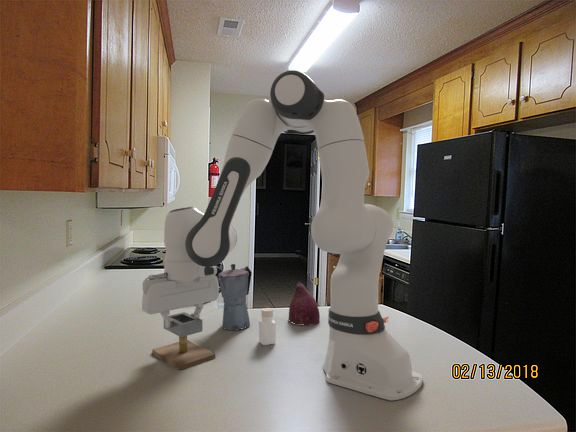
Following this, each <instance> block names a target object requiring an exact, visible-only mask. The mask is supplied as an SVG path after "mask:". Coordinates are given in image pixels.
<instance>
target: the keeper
mask: <svg viewBox="0 0 576 432" xmlns="http://www.w3.org/2000/svg"><path fill="white" fill-rule="evenodd" d="M178 337H179V336H178ZM151 352H152V355H154V356H155V357H158V358H159V359H160V360H163V361H164V362H166V363H168V365H171V366H172V367H174V368H176V369H177V370H179V371H182V370H185V369H187V368H190V367H192V366H196V365H198V364H201V363H203V362H206V361H207V362H208V361H209V360H213V359H216V353H215V352H212V351H211V350H209V349H207V348H204V347H202V346H201V345H198V344H196V343H194V342H193V341H190V340H188V336H184V337H179V338H178V341H177V342H174V343H170V344H166V345H164V346H160V347H156V348H153V349H152V351H151Z"/></svg>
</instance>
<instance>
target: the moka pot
mask: <svg viewBox="0 0 576 432" xmlns="http://www.w3.org/2000/svg"><path fill="white" fill-rule="evenodd" d="M230 268H231V269H228V270H223V271H221V272H219V273H218V276H217V278H218V283H219V289H220V294H221V297H222V298H223V299H222V300H223V314H222V328H223V329H224V328H225V330H226V329H228V330H227V331H237V330H236V329H241V328H245V327H247V326H248V327H250V325H251V322H250V317H249V311H248V306H247V295H249V294H250V287H251V280H252V271H251V269H250V268H249V266H247V265H246V266H245V267H242V268H239V269H237V268H236V264H234V263H231V264H230ZM248 327H247V328H248ZM245 329H246V328H245ZM241 330H242V329H241Z"/></svg>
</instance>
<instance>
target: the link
mask: <svg viewBox="0 0 576 432" xmlns="http://www.w3.org/2000/svg"><path fill="white" fill-rule="evenodd" d="M168 317H169V319H172V320H174V323H173V324H174V326H173V327H170V328H166V327H165V320H164V319H163V329H164V330H166V331H168V332H170V333H172V334H174V335H176V336H177V337H184V336H187V337H188V336H191V335H195V334H198V333H202V332H203V319H201V318H200V319H199V318H197V317H195V316H192V315H191V313H187V312H186V311H184V312H183V311H182V312H179V313H175V314H171V315H170V314H169V315H168Z"/></svg>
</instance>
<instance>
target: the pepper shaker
mask: <svg viewBox="0 0 576 432" xmlns="http://www.w3.org/2000/svg"><path fill="white" fill-rule="evenodd" d="M273 316H274V310H273V308H271V307H265V308H262V309H261V319H260V320H258V341H259V343H260V342H261V343H260V344H261V345H262V346H268V345H269V346H270V344H271V345H275V344H276V341H277V340H276V338H277V337H276V335H277V333H276V324H277V323H276V321H275V320H274V317H273Z"/></svg>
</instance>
